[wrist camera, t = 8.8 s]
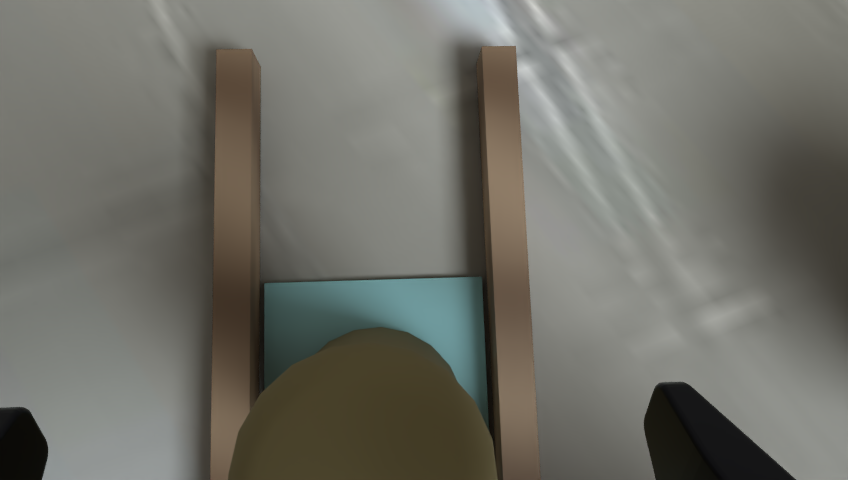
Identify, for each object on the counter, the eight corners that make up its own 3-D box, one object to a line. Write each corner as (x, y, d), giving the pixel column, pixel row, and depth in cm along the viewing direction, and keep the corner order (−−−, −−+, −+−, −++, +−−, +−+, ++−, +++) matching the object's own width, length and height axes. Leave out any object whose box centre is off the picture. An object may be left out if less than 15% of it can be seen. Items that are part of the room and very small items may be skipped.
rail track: (540, 644, 21) (551, 667, 20) (220, 663, 21) (207, 689, 19) (508, 63, 24) (515, 46, 23) (227, 67, 24) (216, 49, 22)
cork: (429, 536, 21) (467, 746, 10) (259, 472, 21) (120, 615, 10) (489, 362, 22) (581, 388, 11) (326, 301, 22) (262, 270, 11)
